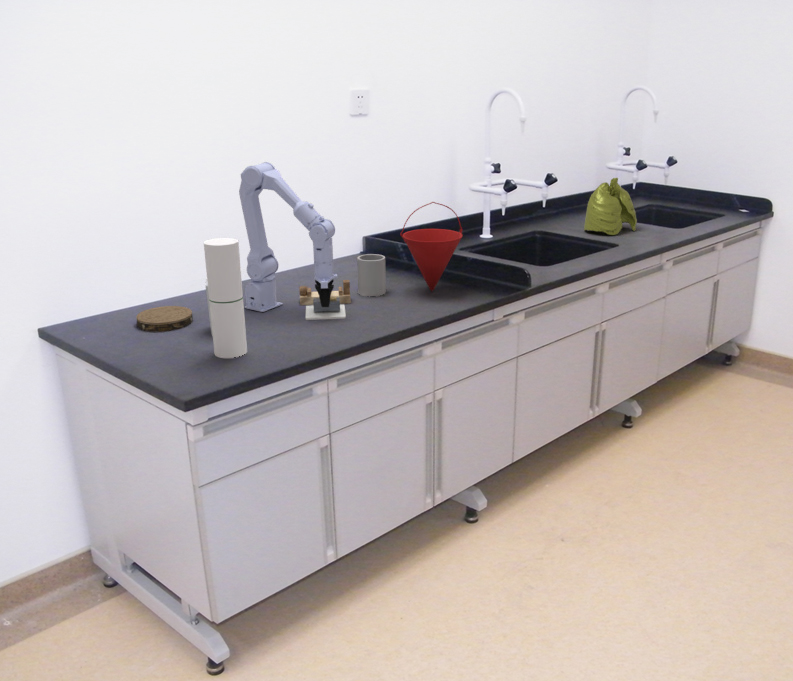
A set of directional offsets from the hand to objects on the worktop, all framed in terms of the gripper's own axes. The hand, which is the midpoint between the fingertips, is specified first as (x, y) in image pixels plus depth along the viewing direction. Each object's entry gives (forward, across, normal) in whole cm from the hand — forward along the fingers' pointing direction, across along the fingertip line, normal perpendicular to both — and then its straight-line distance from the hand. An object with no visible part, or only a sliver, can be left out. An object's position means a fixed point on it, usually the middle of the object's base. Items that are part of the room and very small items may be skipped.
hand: (325, 304), depth 231 cm
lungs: (+3, +102, -128) cm, 163 cm away
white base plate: (+3, 0, 0) cm, 3 cm away
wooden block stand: (+3, +12, 0) cm, 12 cm away
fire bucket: (+3, +19, -36) cm, 40 cm away
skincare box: (+3, -13, +30) cm, 33 cm away
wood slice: (+3, -4, +47) cm, 48 cm away
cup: (+3, +20, -16) cm, 25 cm away
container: (+3, -30, +25) cm, 40 cm away
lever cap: (+2, 0, 0) cm, 2 cm away
